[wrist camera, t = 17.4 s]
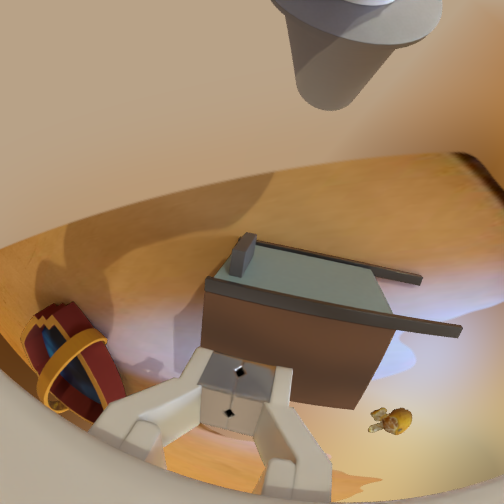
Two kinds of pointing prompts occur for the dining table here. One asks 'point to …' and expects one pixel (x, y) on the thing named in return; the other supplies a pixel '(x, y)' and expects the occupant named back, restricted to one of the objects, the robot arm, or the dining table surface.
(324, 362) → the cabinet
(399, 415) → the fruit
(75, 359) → the decorative basket
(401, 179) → the dining table surface
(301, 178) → the dining table surface
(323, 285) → the grey sliding lid
